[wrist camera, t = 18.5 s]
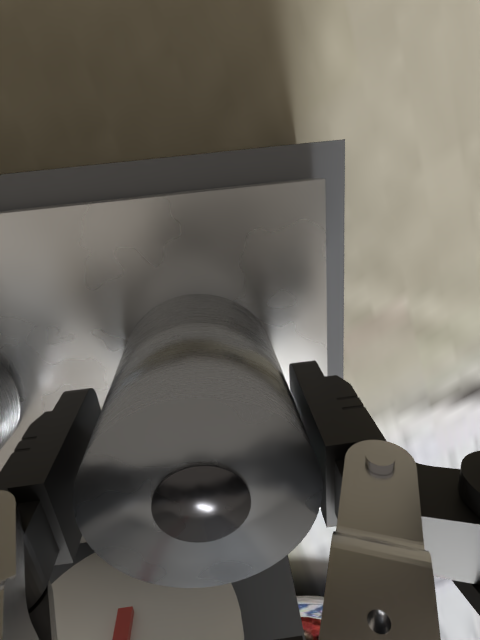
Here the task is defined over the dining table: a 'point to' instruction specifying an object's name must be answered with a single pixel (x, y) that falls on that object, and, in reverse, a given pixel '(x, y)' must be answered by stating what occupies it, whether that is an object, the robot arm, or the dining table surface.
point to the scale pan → (154, 279)
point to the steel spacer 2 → (197, 452)
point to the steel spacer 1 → (8, 406)
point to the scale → (328, 163)
